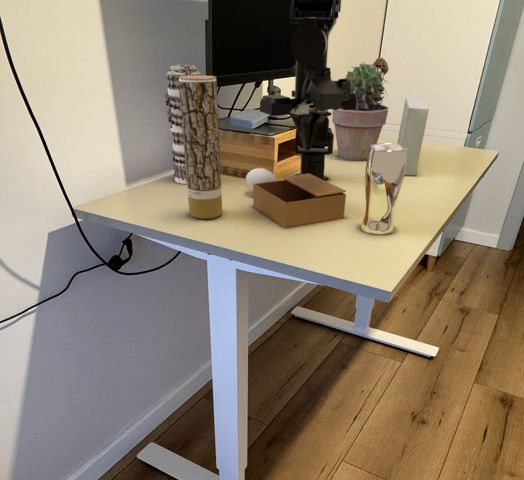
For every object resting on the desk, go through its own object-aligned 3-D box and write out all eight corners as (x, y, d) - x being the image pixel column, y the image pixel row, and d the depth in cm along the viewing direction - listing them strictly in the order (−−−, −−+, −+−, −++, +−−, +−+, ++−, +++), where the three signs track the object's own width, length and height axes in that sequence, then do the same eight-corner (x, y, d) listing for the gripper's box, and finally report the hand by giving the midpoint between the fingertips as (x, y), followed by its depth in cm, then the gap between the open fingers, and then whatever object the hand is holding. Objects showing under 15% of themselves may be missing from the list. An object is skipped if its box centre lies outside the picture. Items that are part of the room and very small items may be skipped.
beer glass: (356, 222, 98) (365, 142, 90) (391, 223, 98) (404, 142, 90) (361, 235, 92) (371, 150, 84) (398, 235, 92) (412, 151, 84)
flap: (282, 178, 106) (282, 176, 106) (309, 174, 108) (309, 173, 108) (316, 196, 95) (317, 195, 95) (345, 192, 98) (345, 190, 97)
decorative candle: (169, 176, 126) (157, 64, 112) (204, 173, 129) (197, 63, 115) (177, 186, 119) (166, 67, 105) (214, 182, 122) (208, 66, 108)
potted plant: (310, 159, 142) (315, 59, 128) (341, 147, 156) (349, 55, 142) (367, 168, 134) (379, 62, 120) (395, 154, 147) (409, 58, 133)
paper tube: (209, 222, 98) (200, 79, 84) (182, 216, 101) (170, 77, 87) (228, 213, 103) (223, 76, 89) (203, 207, 106) (194, 74, 92)
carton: (253, 206, 106) (253, 183, 104) (308, 198, 111) (309, 176, 109) (284, 227, 96) (285, 203, 93) (343, 217, 100) (346, 194, 98)
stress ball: (278, 208, 115) (287, 181, 115) (264, 196, 108) (274, 167, 108) (251, 202, 119) (260, 175, 118) (235, 189, 111) (245, 161, 111)
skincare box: (417, 176, 127) (429, 108, 118) (396, 175, 128) (406, 107, 119) (413, 157, 144) (423, 97, 135) (394, 156, 145) (403, 96, 136)
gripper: (287, 66, 82) (284, 164, 90) (379, 62, 88) (368, 153, 97) (258, 61, 90) (258, 151, 99) (344, 57, 96) (337, 142, 105)
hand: (307, 149), depth 100 cm, fingers closed
